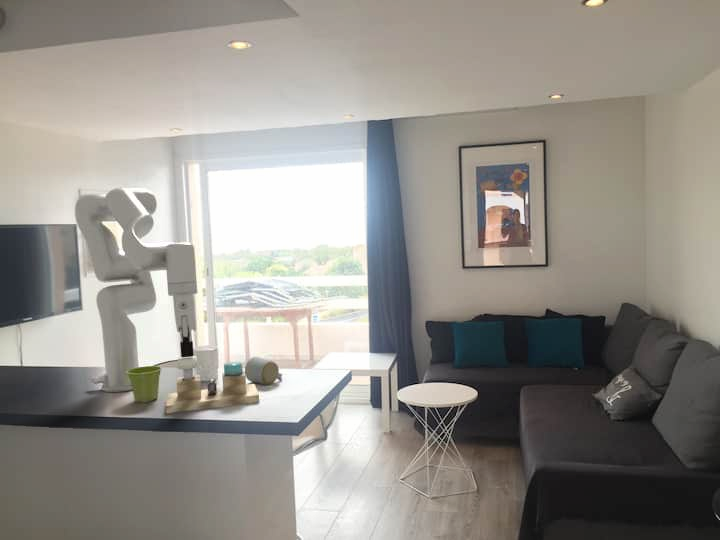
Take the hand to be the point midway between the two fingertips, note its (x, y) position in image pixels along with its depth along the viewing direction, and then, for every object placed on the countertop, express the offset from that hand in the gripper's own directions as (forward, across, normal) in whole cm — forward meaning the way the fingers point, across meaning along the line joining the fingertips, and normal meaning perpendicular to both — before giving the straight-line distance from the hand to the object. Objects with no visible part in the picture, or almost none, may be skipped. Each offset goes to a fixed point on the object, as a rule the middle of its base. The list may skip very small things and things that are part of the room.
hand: (187, 356), depth 157 cm
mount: (+13, 0, -6) cm, 15 cm away
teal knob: (+11, 0, -12) cm, 16 cm away
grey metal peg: (+11, 0, -6) cm, 13 cm away
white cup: (+13, +27, -5) cm, 31 cm away
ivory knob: (+8, 0, 0) cm, 8 cm away
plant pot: (+13, +10, +12) cm, 21 cm away
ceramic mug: (+14, +15, -22) cm, 30 cm away
